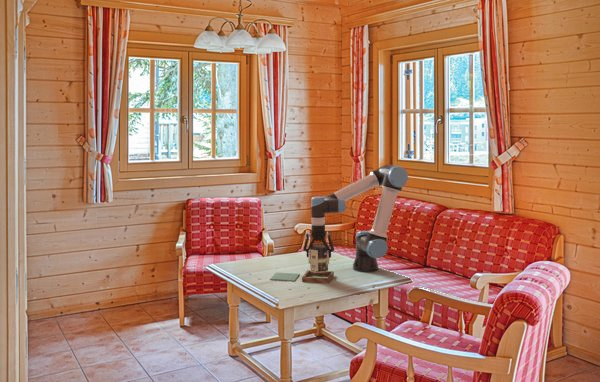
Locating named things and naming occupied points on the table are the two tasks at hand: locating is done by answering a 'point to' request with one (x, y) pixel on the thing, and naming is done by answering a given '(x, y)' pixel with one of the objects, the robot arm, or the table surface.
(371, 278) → the table surface
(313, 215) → the robot arm
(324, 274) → the tray
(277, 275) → the mat
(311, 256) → the coffee can
